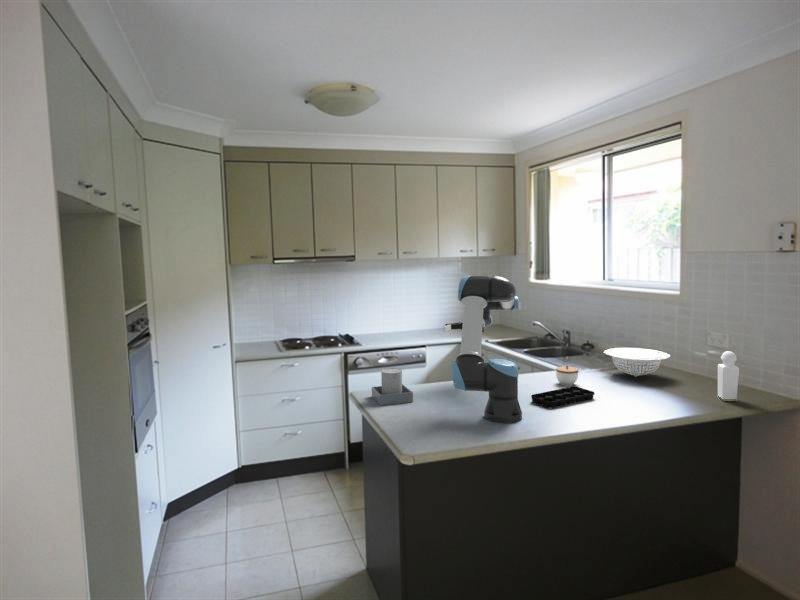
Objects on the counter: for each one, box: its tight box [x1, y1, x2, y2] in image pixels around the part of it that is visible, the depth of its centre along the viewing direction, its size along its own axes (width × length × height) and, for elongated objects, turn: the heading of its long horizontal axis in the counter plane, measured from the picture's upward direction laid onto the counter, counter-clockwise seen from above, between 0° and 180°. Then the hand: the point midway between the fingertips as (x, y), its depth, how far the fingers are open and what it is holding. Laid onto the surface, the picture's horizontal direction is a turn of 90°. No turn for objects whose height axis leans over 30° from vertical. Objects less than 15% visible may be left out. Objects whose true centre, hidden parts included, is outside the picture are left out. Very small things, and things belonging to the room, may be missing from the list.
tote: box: [371, 383, 414, 406], centre depth 243 cm, size 15×15×4 cm
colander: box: [603, 347, 671, 378], centre depth 277 cm, size 32×32×13 cm
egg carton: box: [530, 385, 596, 409], centre depth 238 cm, size 18×30×4 cm, turn 132°
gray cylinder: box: [380, 367, 403, 395], centre depth 243 cm, size 10×10×12 cm
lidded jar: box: [555, 365, 579, 387], centre depth 266 cm, size 11×11×9 cm
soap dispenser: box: [717, 350, 740, 400], centre depth 234 cm, size 6×6×22 cm
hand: (457, 330), depth 251 cm, fingers open, 13 cm apart
